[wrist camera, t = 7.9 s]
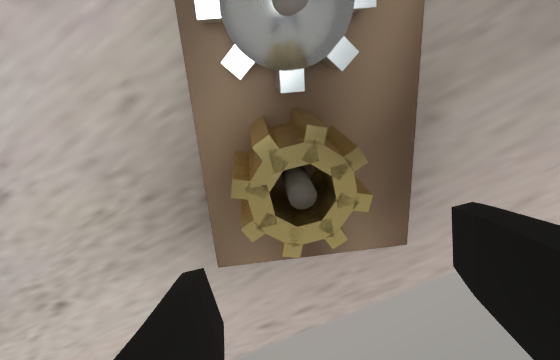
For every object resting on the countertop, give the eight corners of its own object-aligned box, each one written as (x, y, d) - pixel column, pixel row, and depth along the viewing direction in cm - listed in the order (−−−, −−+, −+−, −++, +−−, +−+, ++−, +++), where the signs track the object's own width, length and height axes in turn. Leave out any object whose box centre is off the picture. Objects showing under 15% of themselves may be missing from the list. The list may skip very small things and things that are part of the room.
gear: (359, -96, 14) (379, -120, 12) (357, 80, 17) (374, 85, 14) (187, -88, 14) (178, -111, 11) (212, 92, 16) (208, 99, 14)
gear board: (419, -78, 15) (486, -125, 11) (399, 235, 21) (438, 282, 17) (167, -65, 15) (138, -110, 10) (219, 257, 20) (213, 311, 16)
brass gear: (351, 200, 19) (379, 237, 15) (251, 226, 19) (253, 270, 15) (334, 96, 17) (360, 110, 13) (220, 126, 17) (214, 148, 13)
